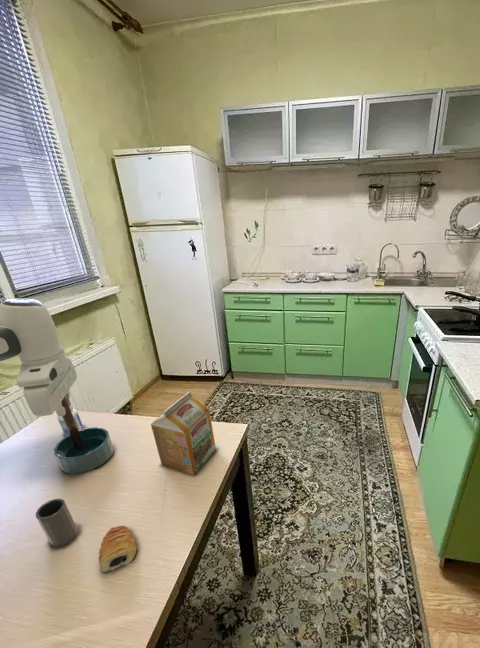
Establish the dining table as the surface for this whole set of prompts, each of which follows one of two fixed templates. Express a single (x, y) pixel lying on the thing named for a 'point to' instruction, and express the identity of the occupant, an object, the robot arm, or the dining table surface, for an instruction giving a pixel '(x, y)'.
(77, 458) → the bowl
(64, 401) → the stick
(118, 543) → the pastry
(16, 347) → the robot arm
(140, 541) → the dining table surface
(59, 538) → the holder
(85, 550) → the dining table surface
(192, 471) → the milk carton
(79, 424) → the pill bottle
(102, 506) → the dining table surface
